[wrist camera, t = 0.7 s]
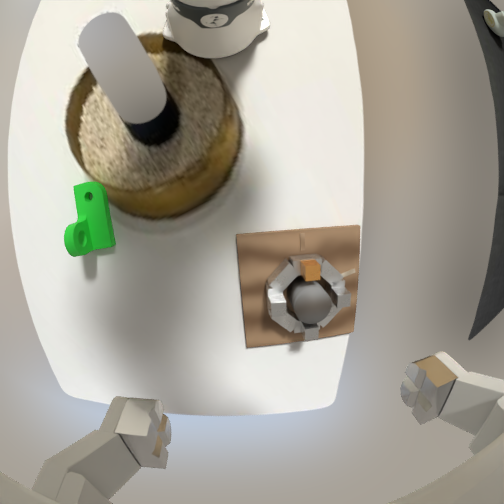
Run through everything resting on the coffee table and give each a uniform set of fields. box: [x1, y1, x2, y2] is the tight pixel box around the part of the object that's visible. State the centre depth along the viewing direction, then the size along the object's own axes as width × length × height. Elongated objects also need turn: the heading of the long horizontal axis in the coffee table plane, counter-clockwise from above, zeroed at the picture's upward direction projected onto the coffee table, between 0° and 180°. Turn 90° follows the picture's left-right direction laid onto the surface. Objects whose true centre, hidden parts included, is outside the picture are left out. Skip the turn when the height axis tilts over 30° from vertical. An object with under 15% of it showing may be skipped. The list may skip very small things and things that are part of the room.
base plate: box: [236, 225, 360, 347], centre depth 46 cm, size 22×22×8 cm
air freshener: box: [484, 9, 504, 37], centre depth 28 cm, size 11×8×10 cm
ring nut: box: [266, 254, 351, 341], centre depth 45 cm, size 14×14×6 cm
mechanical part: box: [64, 182, 116, 257], centre depth 39 cm, size 12×6×8 cm, turn 6°
